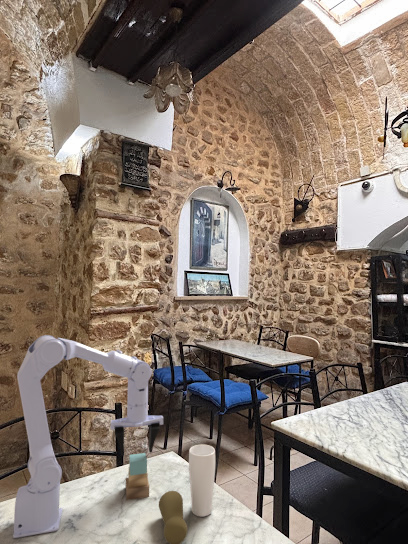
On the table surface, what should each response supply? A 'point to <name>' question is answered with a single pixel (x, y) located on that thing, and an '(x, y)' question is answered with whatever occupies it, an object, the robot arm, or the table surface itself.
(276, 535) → the table surface
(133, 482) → the tower mid
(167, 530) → the olive rounded piece
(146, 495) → the tower base
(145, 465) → the teal block
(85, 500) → the table surface
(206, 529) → the table surface
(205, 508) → the drinking glass
